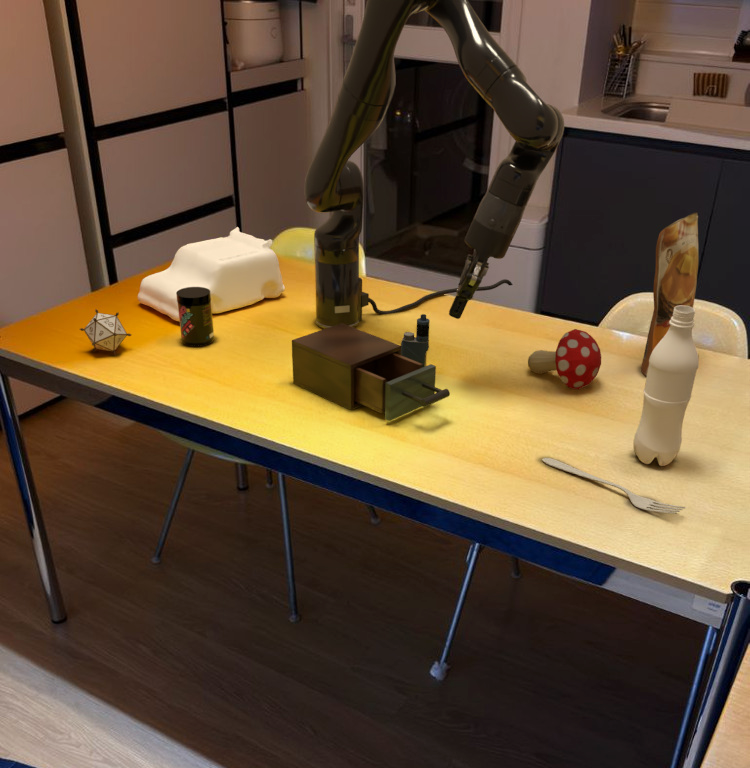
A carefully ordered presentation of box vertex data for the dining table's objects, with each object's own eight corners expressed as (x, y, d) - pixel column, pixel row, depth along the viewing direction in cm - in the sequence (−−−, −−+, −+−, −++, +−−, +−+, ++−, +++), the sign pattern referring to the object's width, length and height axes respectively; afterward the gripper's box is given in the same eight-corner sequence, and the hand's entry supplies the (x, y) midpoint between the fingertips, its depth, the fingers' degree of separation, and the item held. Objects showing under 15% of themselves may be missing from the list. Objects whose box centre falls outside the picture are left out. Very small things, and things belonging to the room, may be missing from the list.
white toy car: (291, 297, 205) (289, 239, 198) (179, 327, 187) (172, 265, 180) (243, 277, 217) (239, 222, 209) (134, 304, 199) (126, 245, 192)
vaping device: (426, 378, 167) (429, 318, 160) (398, 376, 167) (400, 315, 161) (428, 373, 169) (431, 313, 162) (401, 370, 170) (403, 311, 163)
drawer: (458, 411, 153) (461, 375, 149) (414, 432, 146) (415, 395, 142) (376, 376, 165) (377, 342, 161) (331, 394, 158) (331, 359, 154)
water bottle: (624, 448, 144) (652, 301, 131) (667, 447, 145) (698, 300, 131) (639, 470, 138) (669, 318, 125) (683, 468, 139) (718, 317, 125)
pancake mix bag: (621, 371, 171) (646, 225, 156) (669, 345, 182) (697, 207, 167) (652, 382, 167) (681, 233, 152) (699, 354, 178) (731, 214, 164)
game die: (120, 366, 179) (146, 327, 176) (95, 366, 171) (122, 326, 168) (90, 337, 180) (115, 298, 177) (63, 337, 172) (89, 296, 169)
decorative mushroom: (517, 325, 167) (584, 318, 156) (552, 344, 174) (618, 338, 163) (507, 381, 166) (573, 378, 155) (541, 398, 173) (607, 396, 162)
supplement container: (186, 334, 184) (181, 286, 179) (218, 335, 184) (213, 287, 178) (177, 346, 178) (172, 297, 173) (210, 348, 178) (206, 298, 172)
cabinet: (400, 389, 162) (401, 345, 158) (350, 410, 155) (350, 365, 150) (342, 364, 172) (342, 322, 167) (293, 383, 164) (291, 340, 160)
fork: (548, 455, 142) (550, 446, 141) (684, 516, 127) (687, 506, 126) (536, 462, 140) (538, 452, 139) (673, 524, 125) (675, 514, 124)
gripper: (516, 241, 144) (472, 335, 152) (514, 225, 155) (473, 313, 163) (474, 222, 143) (432, 318, 151) (475, 208, 155) (436, 298, 163)
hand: (453, 316), depth 157 cm, fingers closed
